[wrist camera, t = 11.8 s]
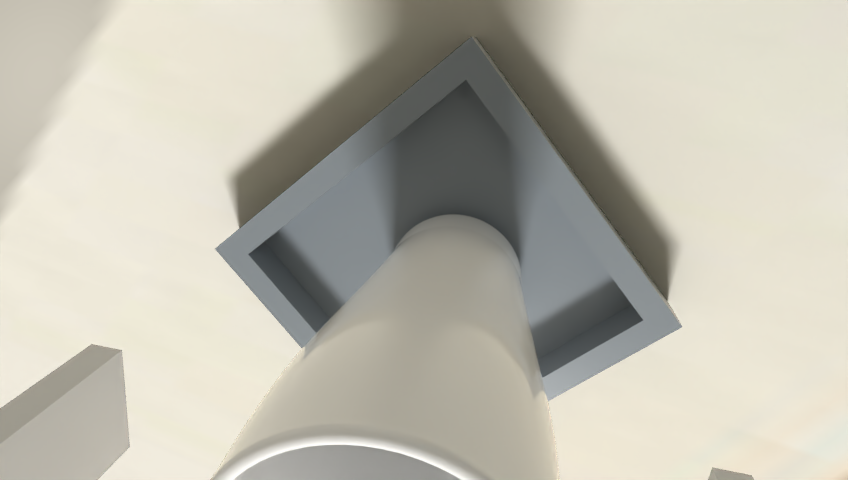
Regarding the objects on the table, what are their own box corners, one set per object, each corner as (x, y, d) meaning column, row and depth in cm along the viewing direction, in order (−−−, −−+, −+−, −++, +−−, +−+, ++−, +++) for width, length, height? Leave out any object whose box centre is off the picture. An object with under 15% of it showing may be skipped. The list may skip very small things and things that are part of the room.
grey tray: (475, 37, 21) (471, 36, 19) (667, 302, 24) (682, 327, 21) (239, 232, 25) (214, 248, 23) (421, 443, 28) (413, 475, 25)
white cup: (343, 254, 24) (105, 538, 10) (471, 157, 22) (391, 349, 8) (442, 371, 25) (348, 774, 11) (573, 290, 23) (656, 662, 9)
